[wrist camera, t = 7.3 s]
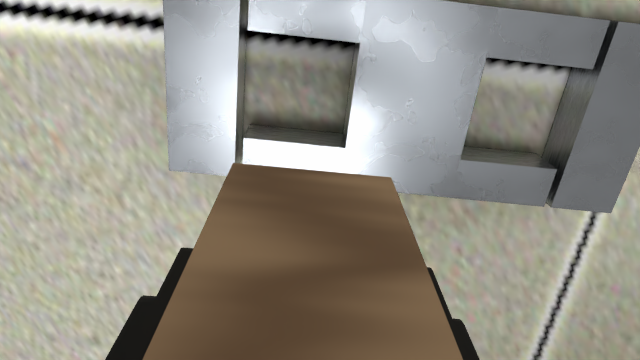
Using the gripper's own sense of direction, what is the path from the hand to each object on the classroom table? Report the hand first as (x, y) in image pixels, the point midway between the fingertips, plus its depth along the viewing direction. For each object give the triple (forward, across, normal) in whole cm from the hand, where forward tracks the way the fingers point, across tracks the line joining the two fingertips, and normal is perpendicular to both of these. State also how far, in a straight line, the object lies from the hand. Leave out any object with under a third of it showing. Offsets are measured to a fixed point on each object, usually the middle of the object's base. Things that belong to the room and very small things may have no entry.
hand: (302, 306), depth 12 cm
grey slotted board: (+20, -6, -2) cm, 21 cm away
